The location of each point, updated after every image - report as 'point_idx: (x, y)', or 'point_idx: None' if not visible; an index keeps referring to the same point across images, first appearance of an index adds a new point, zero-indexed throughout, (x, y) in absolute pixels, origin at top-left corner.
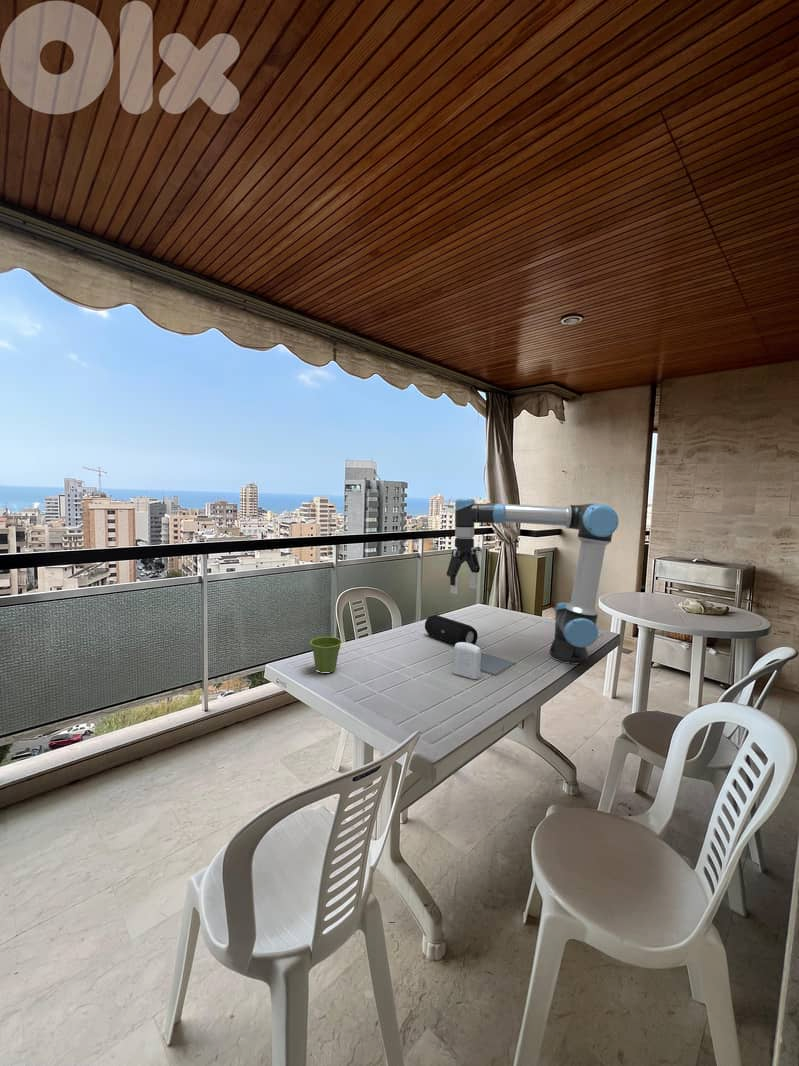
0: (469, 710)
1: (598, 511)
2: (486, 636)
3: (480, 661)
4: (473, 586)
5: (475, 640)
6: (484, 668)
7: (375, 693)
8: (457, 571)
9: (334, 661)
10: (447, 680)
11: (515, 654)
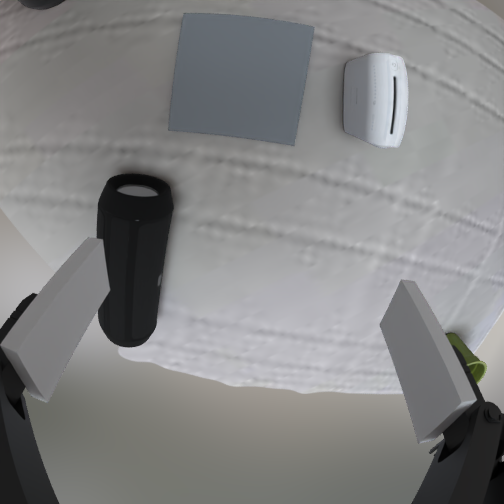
0: (494, 56)
1: None
2: (44, 193)
3: (359, 57)
4: (97, 267)
5: (123, 177)
6: (292, 65)
7: (501, 235)
8: (475, 463)
9: (458, 344)
10: (410, 132)
11: (107, 55)
